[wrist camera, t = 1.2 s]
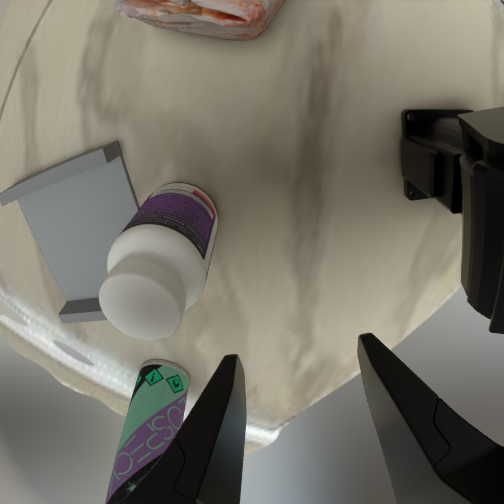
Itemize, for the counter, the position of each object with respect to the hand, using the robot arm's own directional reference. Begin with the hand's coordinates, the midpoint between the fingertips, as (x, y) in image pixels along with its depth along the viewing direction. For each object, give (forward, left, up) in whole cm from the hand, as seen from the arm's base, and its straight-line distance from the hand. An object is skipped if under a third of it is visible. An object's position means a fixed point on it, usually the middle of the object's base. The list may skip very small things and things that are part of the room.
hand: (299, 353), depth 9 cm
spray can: (+14, +17, -13) cm, 26 cm away
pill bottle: (+7, 0, -13) cm, 15 cm away
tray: (+15, 0, -13) cm, 20 cm away
